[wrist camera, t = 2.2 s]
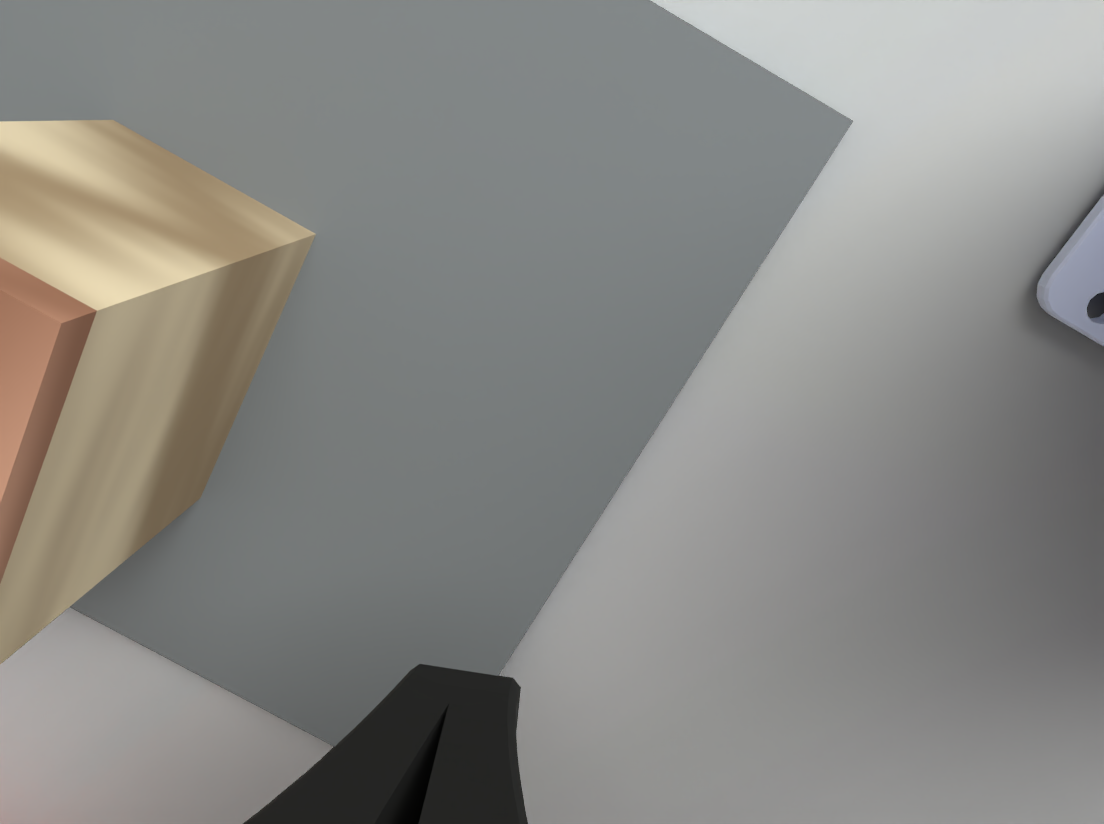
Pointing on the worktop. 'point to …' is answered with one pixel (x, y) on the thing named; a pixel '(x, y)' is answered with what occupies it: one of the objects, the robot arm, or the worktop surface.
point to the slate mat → (428, 303)
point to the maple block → (117, 348)
